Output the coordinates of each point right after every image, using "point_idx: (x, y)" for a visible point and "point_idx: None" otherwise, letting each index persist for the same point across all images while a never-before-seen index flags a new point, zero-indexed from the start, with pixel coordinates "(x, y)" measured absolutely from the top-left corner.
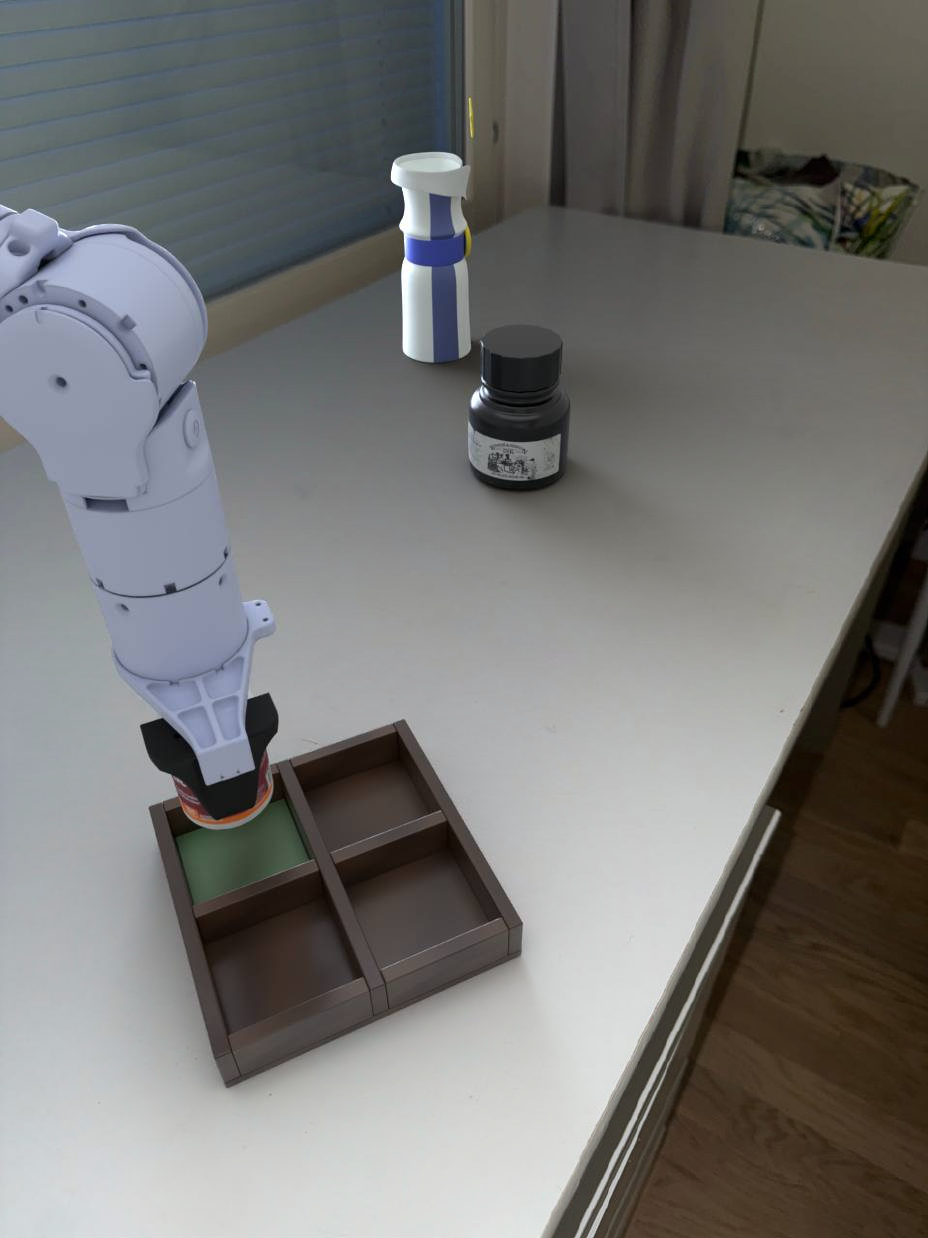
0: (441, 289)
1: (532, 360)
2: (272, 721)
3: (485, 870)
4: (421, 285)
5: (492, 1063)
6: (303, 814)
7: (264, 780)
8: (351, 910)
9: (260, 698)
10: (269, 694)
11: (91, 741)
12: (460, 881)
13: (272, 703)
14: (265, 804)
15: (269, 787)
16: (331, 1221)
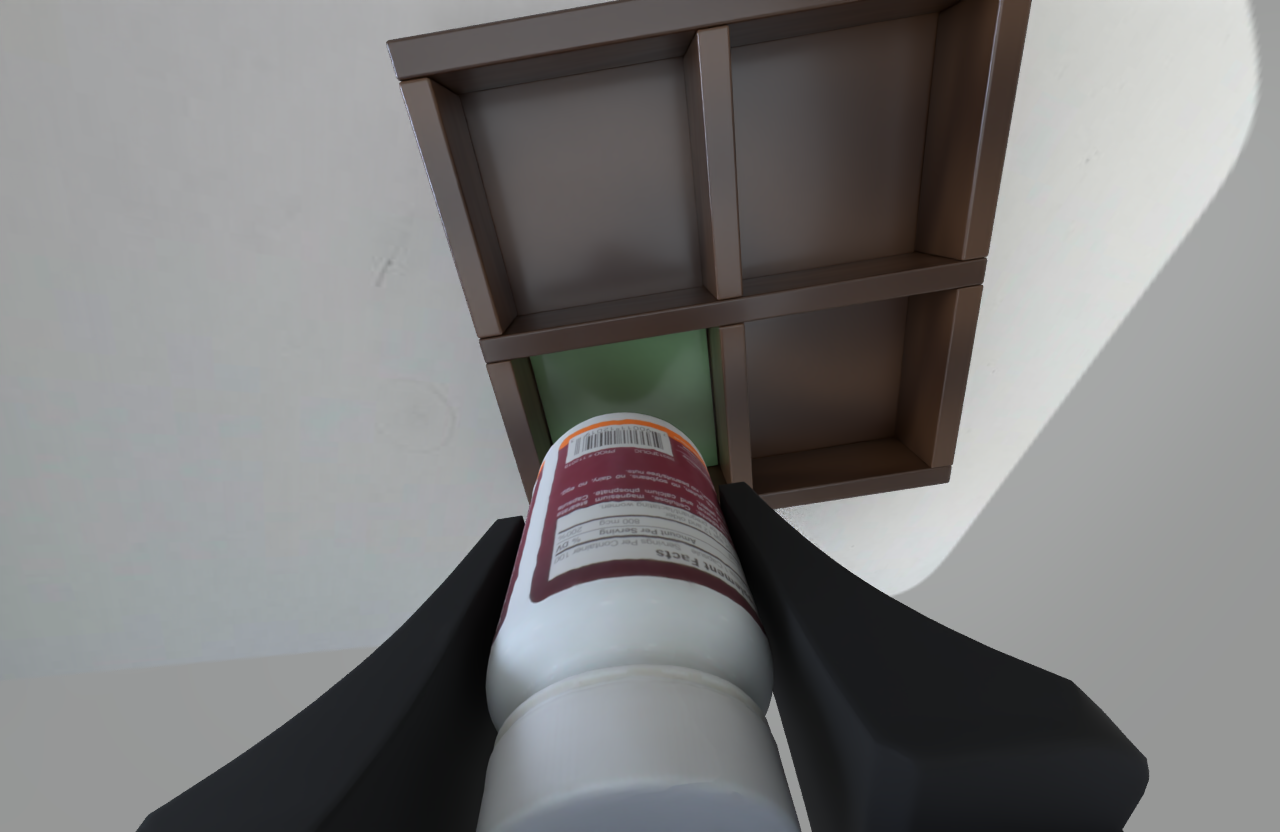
0: None
1: None
2: (1128, 762)
3: None
4: None
5: (1072, 110)
6: (621, 332)
7: (680, 457)
8: (843, 285)
9: (938, 791)
10: (934, 763)
11: (360, 572)
12: (790, 51)
13: (1016, 761)
14: (681, 433)
15: (662, 432)
16: (1087, 359)
